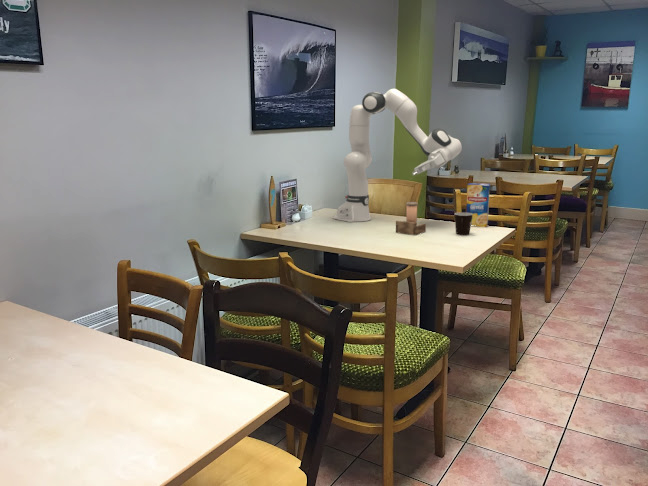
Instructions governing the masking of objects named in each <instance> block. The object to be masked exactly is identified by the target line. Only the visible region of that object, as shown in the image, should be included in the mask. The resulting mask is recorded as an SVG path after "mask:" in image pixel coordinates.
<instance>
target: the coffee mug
mask: <svg viewBox="0 0 648 486" xmlns="http://www.w3.org/2000/svg"><path fill="white" fill-rule="evenodd" d="M472 215H473V214H471V213H466V212H454V224H455V234H456V235H458V236H469V235H470V232H471V227H472V226H471V221H472Z"/></svg>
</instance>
